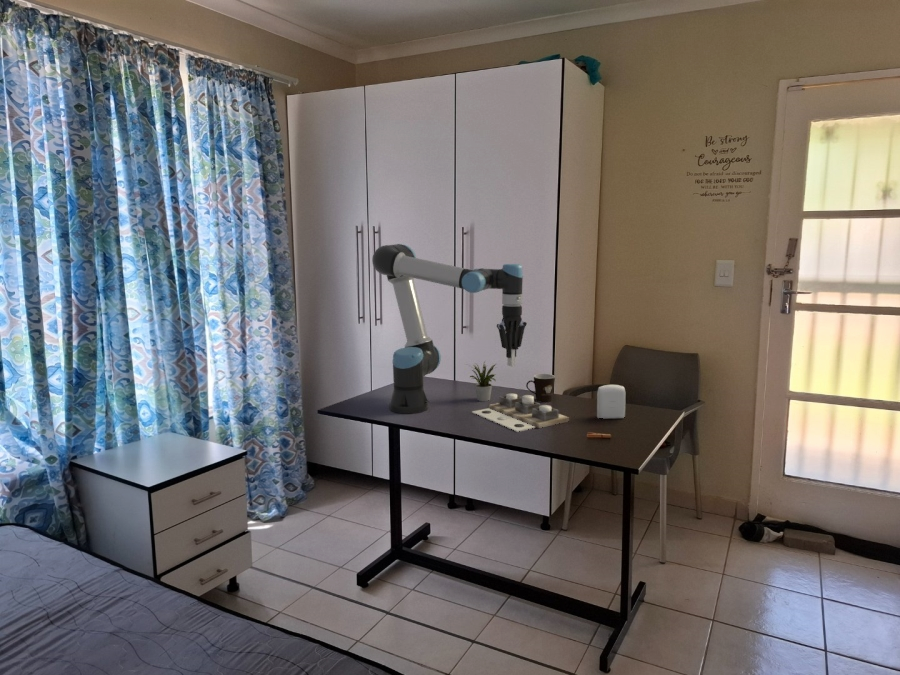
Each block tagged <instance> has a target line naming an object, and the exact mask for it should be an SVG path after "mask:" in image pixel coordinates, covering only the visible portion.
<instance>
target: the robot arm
mask: <svg viewBox="0 0 900 675" xmlns="http://www.w3.org/2000/svg"><path fill="white" fill-rule="evenodd" d="M372 266H373V268H374V269H375V270H376V272H377V273H378V274H380V275H384V276H386V277H387V278H386V279H387V282H389V283H391V284H392V287H393V290H394V295H395V298H396V302H397V306H398V311H399V314H400V319H401V321H402V326H403V329H404V330H403V331H404V333H405V334H404V335H405V337H406V342H405V344H404V347H403V348H399V349H397V350H395V351H394V352H393V354H392V372H393V373H392V376H393V378H392V379H393V392H392V395H391V397H390V402H389V410H390V411H391V410H392V411H391V412H393V411H394V413H397V414H416V413H417V412H418V413H421V412H425V411H427V410H428V409H429V401H428V398H427V395H426V393H425V392H426V391H425V390H424V389H425V388H424V377H425V376H427V375H428V374H432V373H433V372H434V371H435V370H436V369H438V367H439V366H440V364H441V357H442V356H441V352H440V350H439V348H438V347H437V346H435V345H434V342H433V339H432V338H431V337H430V336H428V332H427V328H426V324H425V321H424V317H423V313H422V310H421V305H420V301H419V297H418V293H417V289H416V285H415V281H414V279H417V280H421V281H425V282H431V283H434V284H440V285H444V286H448V287H453V288H457V289H462V290H464V291H465V292H467V293H470V294H472V293H473V294H476V293H479V292H481V291H485V290H488V289H490V290H491V289H493V290H495V289H496V290H502V294H501V295H502V296H501V297H502V298H501V302H502V303H501V304H502V307H501V310H502V311H501V315H502V319H501V322H500V323H497V324H496V328H497V329H498V333H499V339H500V344H501V348H502V349H506V352H505V353H506V355H505V356H506V358H507V362H506V363H507V367H508V366H509V367H515V366H516V357H517V350H519V348H520V347H521V346H522V342H523V338H524V337H523V336H524V334H525V333H524V332H525V329H526V326H527V323H528V322H526V321H524V320H523V318H522V315H523V306H522V304H523V282H524V281H523V280H524V278H523V277H524V276H523V266H522V264H520V263H518V264H517V263H505V264H503V265H502V268H500V269H499V268H475V269H469V268H465V267H464V268H463V267H459V266H454V265H450V264H447V263H446V264H444V263H440V262H436V261H431V260H427V259H422V258H417V255H416V253H415V251H414V250H413V249H412V248H411V247H410V246H408V245H406V244H402V243H397V244H387V245H382V246H380V247H378V248H376V250H375V251H374V252H373V255H372ZM418 413H417V414H418Z"/></svg>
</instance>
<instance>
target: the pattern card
mask: <svg viewBox="0 0 900 675" xmlns="http://www.w3.org/2000/svg"><path fill="white" fill-rule="evenodd" d="M471 414H474V415H476V414H477V415H476V416H478V415H479V416H478V417H480V418H483V419H485V418H486V419H485V420H487V421H490V422H492V421H493V422H492V423H495V424H497V423H498V425H499V424H500V425H499V426H502V427H504V426H505V427H504V428H506V427H507V429H509V430H511V429H512V430H511V431H513V430H514V432H516V433H519V431H520V432H524V431H529V430H532V428H533V429H535V428H536V427H535V426H532V425H530V424H527V423H525V422H522V421H520V420H517V419H515V418H512V417H510V416H507V415H505V414H502V413H500V412H497V411H495V410H492V409H490V407H488V408H487V407H486V408H483V409H477V410H472V411H471ZM528 429H529V430H528Z"/></svg>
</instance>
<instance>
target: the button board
mask: <svg viewBox="0 0 900 675" xmlns="http://www.w3.org/2000/svg"><path fill="white" fill-rule="evenodd" d="M541 405H542V403H541V402H538V401H534V404H533V405H529V406H526V405H523V404H522V396H520V395H517V399H512V400H510V399H507V398H506V395H501V396H499V400H498V402H496V403H490V404H489V408H491V409H493V410H496V411H498V412H501V413H503V414H506V415H508V416H510V417H513V418H515V419H518V420H520V421H523V422H525V423H528V424H530V425H533V426H535V428H538V429H542V427H543V428H546V427H551V426H555V424H556V425H560V424H564V423H568V421H569V422H570V417H569V416H566V415H563V414H561V413H560V410H559V409H557V408H554V407H552V411H548V412H542V411H540V410H539V406H541ZM559 423H560V424H559Z"/></svg>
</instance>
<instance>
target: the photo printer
mask: <svg viewBox="0 0 900 675" xmlns="http://www.w3.org/2000/svg"><path fill="white" fill-rule="evenodd" d="M596 394H597V395H596V398H597V400H596V417H597V419H599V418H603V419H625V418H624V417H626V389H625V387H624V386H623V385H619V384H606V385H601V386H599V387H598V388H597V393H596Z"/></svg>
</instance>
